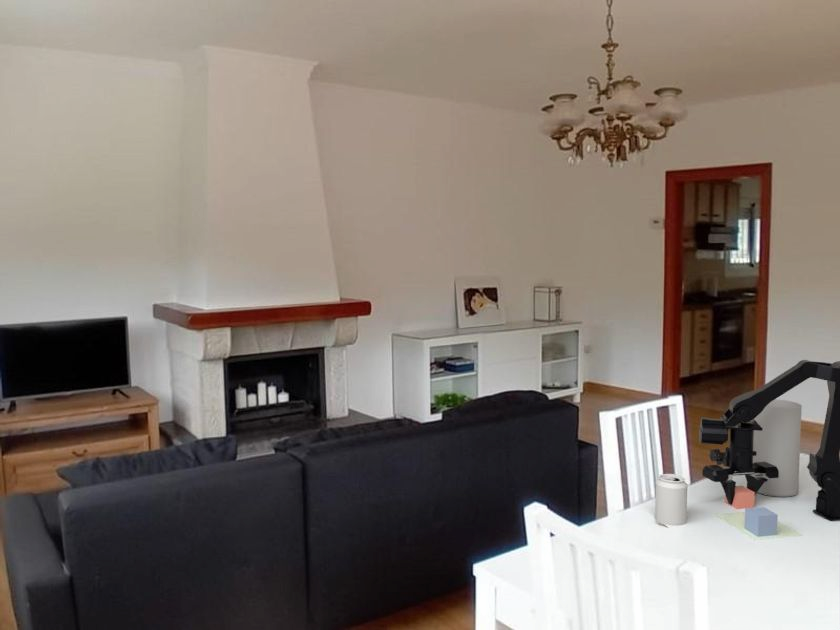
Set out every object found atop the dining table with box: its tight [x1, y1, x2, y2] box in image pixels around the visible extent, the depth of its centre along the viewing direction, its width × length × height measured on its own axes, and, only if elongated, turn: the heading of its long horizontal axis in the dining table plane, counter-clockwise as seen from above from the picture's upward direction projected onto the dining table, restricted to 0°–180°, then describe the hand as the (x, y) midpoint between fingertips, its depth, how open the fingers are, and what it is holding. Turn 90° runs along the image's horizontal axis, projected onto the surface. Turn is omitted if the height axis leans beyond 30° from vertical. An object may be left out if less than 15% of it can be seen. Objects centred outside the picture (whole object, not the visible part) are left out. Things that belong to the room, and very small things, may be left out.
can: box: [654, 473, 688, 528], centre depth 174 cm, size 8×8×12 cm
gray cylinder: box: [752, 398, 803, 498], centre depth 197 cm, size 12×12×25 cm
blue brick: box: [744, 506, 779, 537], centre depth 166 cm, size 5×5×5 cm
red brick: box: [724, 485, 756, 510], centre depth 184 cm, size 5×5×5 cm
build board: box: [714, 511, 805, 541], centre depth 171 cm, size 13×16×1 cm
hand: (739, 503), depth 184 cm, fingers closed on red brick, 5 cm apart
